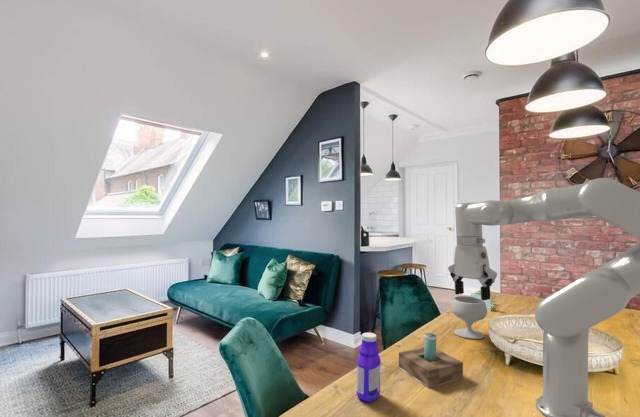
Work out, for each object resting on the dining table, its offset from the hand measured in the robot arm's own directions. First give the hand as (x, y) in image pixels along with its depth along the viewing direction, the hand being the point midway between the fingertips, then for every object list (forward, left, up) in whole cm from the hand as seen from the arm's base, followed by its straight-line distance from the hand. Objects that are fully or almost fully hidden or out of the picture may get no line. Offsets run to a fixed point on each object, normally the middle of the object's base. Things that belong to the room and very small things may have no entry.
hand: (472, 296), depth 105 cm
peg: (+9, +9, -26) cm, 28 cm away
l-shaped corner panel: (+55, -75, -27) cm, 97 cm away
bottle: (+5, +35, -26) cm, 44 cm away
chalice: (+29, -31, -26) cm, 50 cm away
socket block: (+9, +9, -26) cm, 29 cm away
